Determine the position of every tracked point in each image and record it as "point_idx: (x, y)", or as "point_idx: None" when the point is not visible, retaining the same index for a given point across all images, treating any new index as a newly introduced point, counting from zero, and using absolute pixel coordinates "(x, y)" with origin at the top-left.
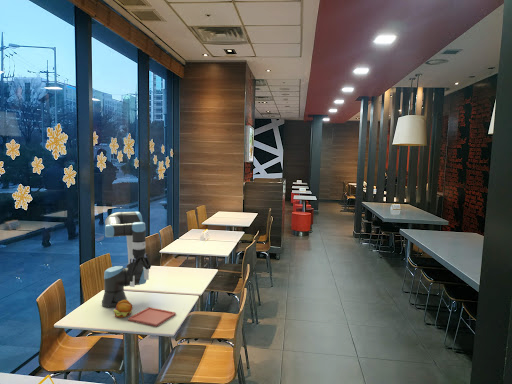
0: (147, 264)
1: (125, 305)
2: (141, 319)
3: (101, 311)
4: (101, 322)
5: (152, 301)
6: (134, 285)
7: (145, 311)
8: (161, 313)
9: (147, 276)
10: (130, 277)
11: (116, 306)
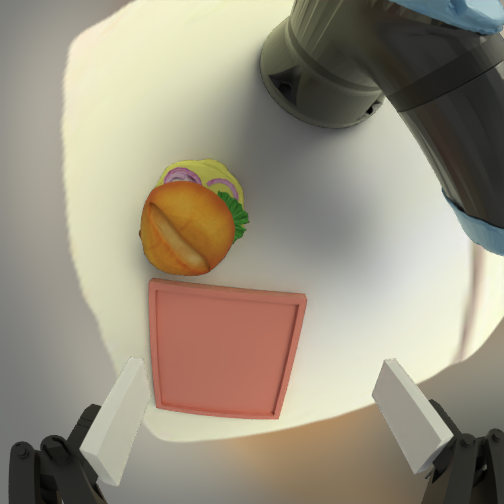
0: (494, 458)
1: (161, 256)
2: (174, 336)
3: (207, 73)
4: (98, 170)
5: (398, 248)
6: (146, 404)
7: (262, 304)
8: (263, 377)
9: (385, 414)
10: (77, 448)
11: (149, 195)
